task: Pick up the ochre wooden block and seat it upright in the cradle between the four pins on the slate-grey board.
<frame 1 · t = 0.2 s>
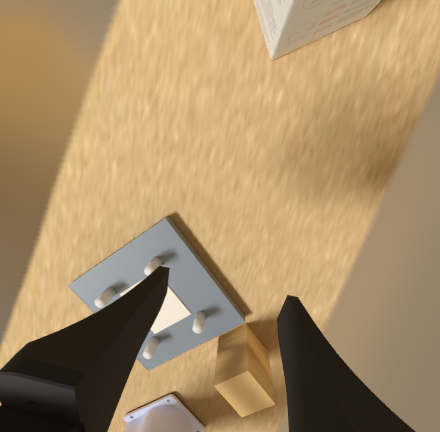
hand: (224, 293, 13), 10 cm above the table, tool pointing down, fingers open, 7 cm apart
small box: (306, 5, 17), on the table
pin board: (158, 298, 26), on the table
ochre block: (243, 343, 27), on the table
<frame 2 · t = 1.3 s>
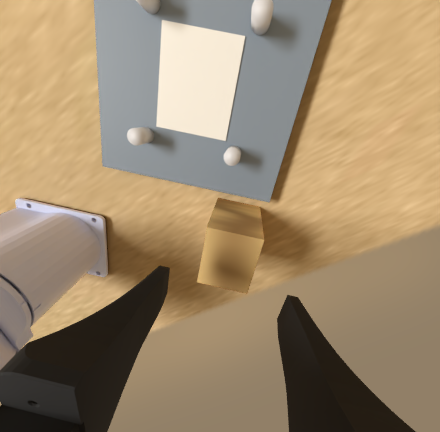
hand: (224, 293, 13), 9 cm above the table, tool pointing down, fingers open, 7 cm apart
pin board: (199, 87, 16), on the table
ochre block: (233, 225, 21), on the table
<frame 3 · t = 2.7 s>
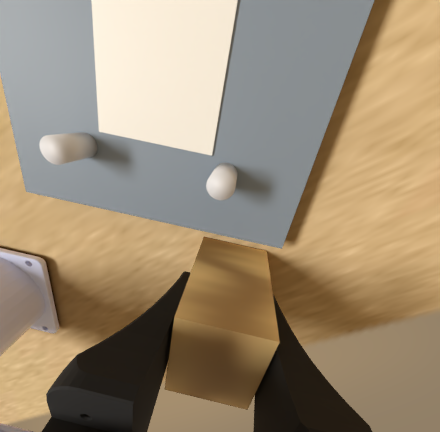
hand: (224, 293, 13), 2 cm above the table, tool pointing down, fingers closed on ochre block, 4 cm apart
pin board: (168, 67, 10), on the table
ochre block: (227, 274, 14), on the table, touching gripper
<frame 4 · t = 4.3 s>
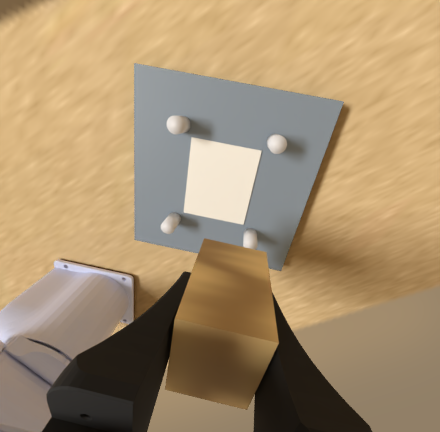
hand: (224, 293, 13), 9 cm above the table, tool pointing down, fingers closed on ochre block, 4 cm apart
pin board: (220, 180, 19), on the table
ochre block: (227, 275, 15), point 7 cm above the table, touching gripper
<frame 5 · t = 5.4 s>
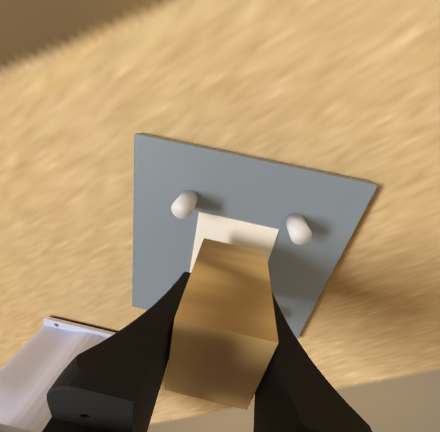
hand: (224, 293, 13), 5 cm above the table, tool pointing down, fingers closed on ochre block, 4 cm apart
pin board: (230, 251, 17), on the table
ochre block: (227, 275, 15), point 3 cm above the table, touching gripper
when the fingers open (4 cm above the table, at t = 6.0 s): ochre block drops 1 cm, resting on pin board.
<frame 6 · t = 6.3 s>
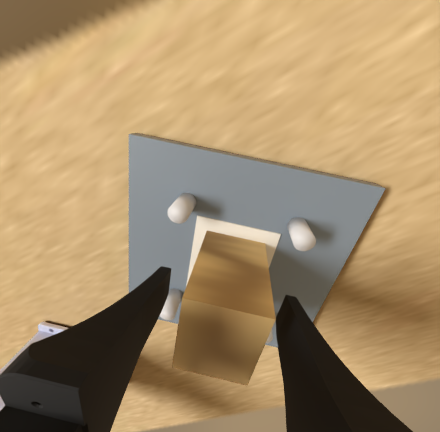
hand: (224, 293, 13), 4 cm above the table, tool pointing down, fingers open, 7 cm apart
pin board: (229, 255, 16), on the table
ochre block: (228, 266, 15), point 1 cm above the table, touching pin board
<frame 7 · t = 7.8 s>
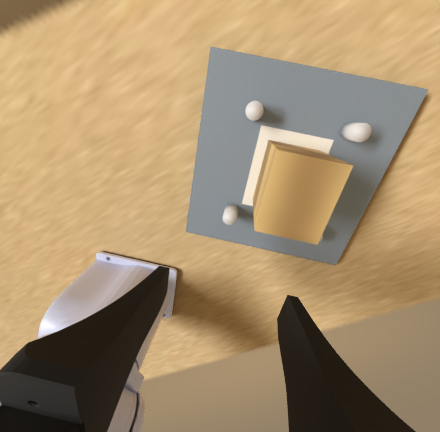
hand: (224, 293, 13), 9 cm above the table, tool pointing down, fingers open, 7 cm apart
pin board: (282, 171, 19), on the table
ochre block: (283, 175, 18), point 1 cm above the table, touching pin board
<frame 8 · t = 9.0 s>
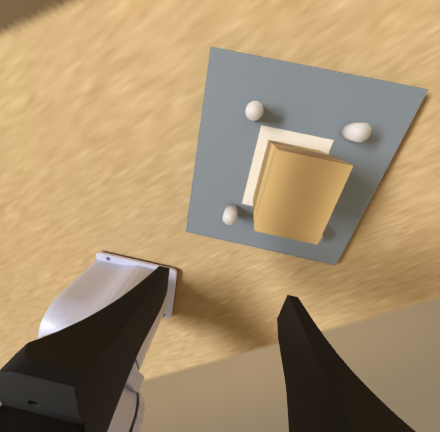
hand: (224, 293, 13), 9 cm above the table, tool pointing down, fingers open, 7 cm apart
pin board: (282, 171, 19), on the table
ochre block: (283, 175, 18), point 1 cm above the table, touching pin board
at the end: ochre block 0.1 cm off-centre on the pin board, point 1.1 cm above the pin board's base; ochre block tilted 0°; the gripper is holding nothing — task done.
